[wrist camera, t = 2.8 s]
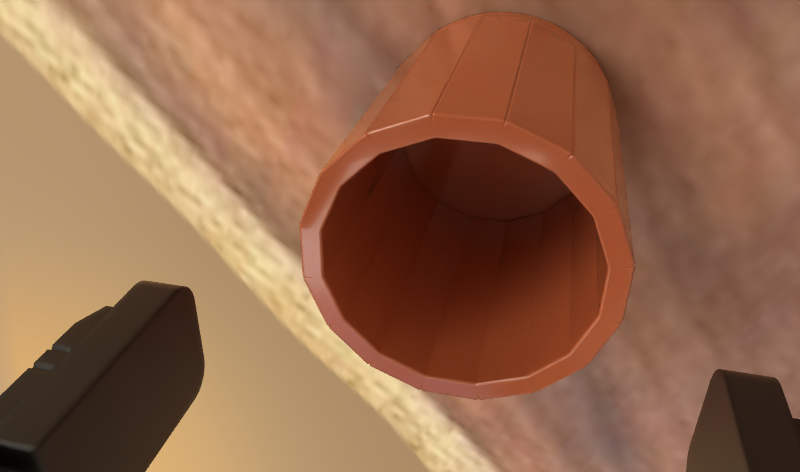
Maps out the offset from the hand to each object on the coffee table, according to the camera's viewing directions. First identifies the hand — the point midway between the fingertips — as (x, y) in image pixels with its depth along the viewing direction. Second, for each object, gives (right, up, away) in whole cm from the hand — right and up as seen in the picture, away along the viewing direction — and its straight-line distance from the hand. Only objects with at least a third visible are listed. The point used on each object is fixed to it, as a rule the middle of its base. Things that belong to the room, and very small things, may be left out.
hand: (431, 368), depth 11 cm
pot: (+2, +5, +8) cm, 10 cm away
